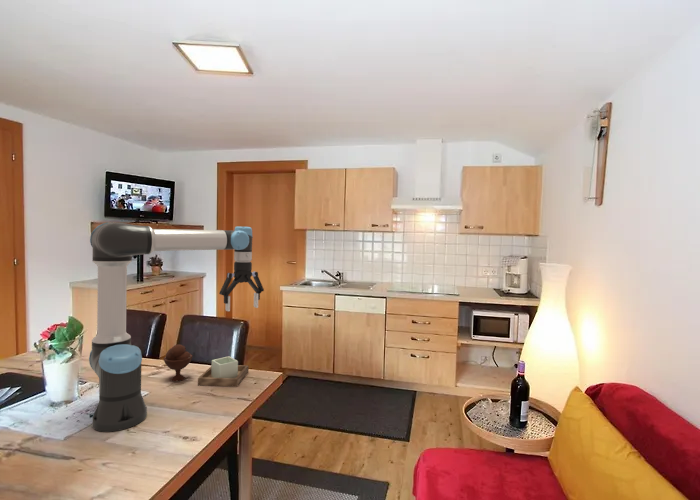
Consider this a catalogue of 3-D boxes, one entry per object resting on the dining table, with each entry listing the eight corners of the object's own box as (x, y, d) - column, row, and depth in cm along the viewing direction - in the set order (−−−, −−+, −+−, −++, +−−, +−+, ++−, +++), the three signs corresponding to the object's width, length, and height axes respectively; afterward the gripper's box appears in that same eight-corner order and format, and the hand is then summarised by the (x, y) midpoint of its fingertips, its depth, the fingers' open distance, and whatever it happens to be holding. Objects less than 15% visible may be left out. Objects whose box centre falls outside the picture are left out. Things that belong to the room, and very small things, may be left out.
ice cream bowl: (197, 377, 157) (197, 343, 156) (172, 386, 147) (173, 349, 147) (182, 372, 162) (183, 338, 162) (158, 380, 153) (158, 344, 152)
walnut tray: (197, 385, 149) (197, 378, 149) (212, 371, 165) (213, 364, 165) (236, 386, 149) (237, 379, 148) (248, 372, 164) (248, 365, 164)
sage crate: (219, 381, 151) (219, 365, 151) (211, 376, 157) (211, 360, 156) (237, 377, 156) (237, 360, 156) (229, 371, 162) (229, 356, 162)
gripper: (219, 262, 150) (218, 314, 151) (272, 261, 168) (271, 307, 169) (211, 261, 156) (211, 311, 156) (263, 260, 173) (262, 304, 174)
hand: (242, 309), depth 163 cm, fingers open, 13 cm apart
